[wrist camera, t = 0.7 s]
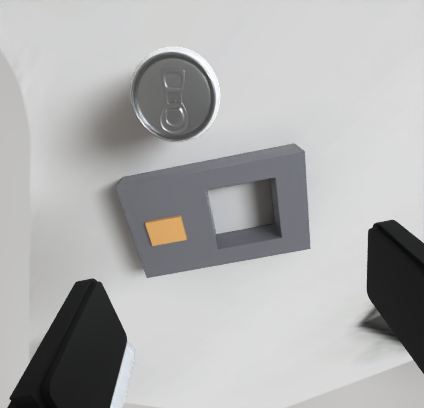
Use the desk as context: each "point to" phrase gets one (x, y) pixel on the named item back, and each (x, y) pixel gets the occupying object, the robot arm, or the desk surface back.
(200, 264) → the grey socket block
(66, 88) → the desk surface
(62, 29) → the desk surface
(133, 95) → the can
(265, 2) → the desk surface
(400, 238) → the robot arm
